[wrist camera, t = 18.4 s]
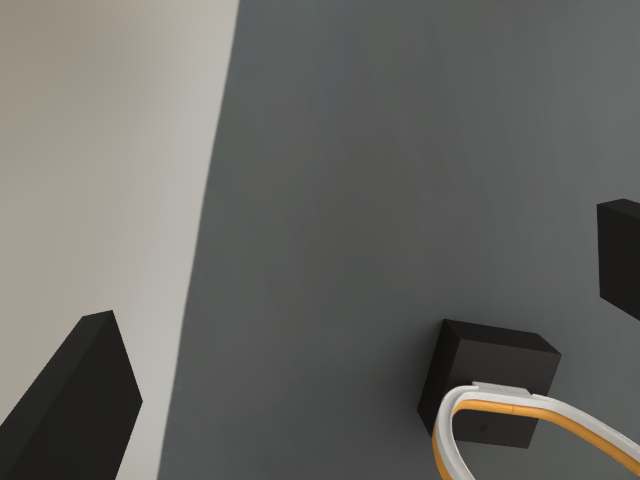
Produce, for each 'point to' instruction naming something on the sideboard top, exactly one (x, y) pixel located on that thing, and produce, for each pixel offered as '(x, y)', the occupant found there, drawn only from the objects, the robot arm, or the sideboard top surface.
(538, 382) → the lamp
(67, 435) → the robot arm
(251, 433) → the sideboard top surface
